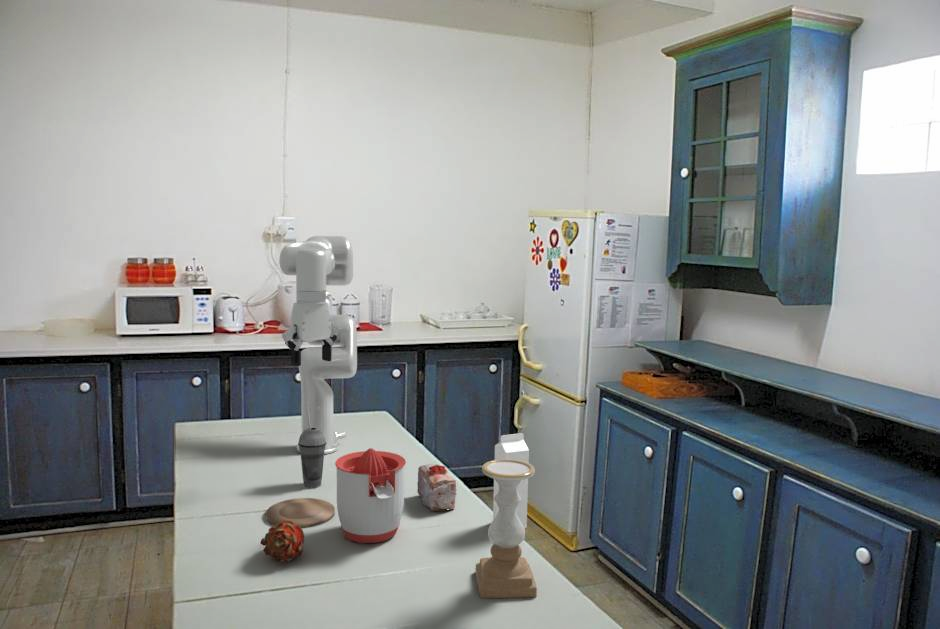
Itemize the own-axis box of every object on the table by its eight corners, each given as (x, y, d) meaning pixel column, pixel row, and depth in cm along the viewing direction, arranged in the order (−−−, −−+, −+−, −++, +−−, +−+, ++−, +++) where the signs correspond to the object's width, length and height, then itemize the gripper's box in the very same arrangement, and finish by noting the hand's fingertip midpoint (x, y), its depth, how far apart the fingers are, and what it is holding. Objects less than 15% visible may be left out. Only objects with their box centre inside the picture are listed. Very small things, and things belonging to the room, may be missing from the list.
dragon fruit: (284, 579, 150) (277, 562, 162) (317, 550, 153) (309, 535, 164) (257, 548, 149) (252, 533, 160) (291, 519, 151) (285, 506, 162)
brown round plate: (307, 497, 190) (307, 492, 190) (348, 514, 180) (348, 510, 180) (252, 514, 178) (252, 510, 178) (292, 534, 168) (292, 529, 168)
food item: (460, 511, 183) (460, 472, 182) (429, 515, 180) (429, 476, 179) (441, 492, 196) (441, 456, 195) (412, 496, 193) (412, 459, 192)
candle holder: (474, 571, 152) (477, 458, 149) (528, 570, 153) (531, 457, 150) (480, 598, 141) (483, 477, 138) (537, 597, 142) (541, 476, 139)
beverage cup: (319, 491, 194) (319, 416, 192) (293, 488, 196) (293, 414, 193) (330, 481, 202) (330, 409, 199) (305, 479, 203) (304, 407, 200)
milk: (526, 528, 174) (530, 436, 171) (503, 532, 172) (506, 439, 169) (514, 518, 180) (518, 429, 177) (492, 522, 177) (495, 431, 174)
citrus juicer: (350, 557, 157) (350, 465, 155) (326, 526, 172) (326, 442, 170) (419, 544, 164) (420, 456, 162) (390, 515, 180) (390, 434, 177)
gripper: (329, 294, 201) (329, 357, 203) (274, 298, 188) (274, 365, 190) (347, 296, 196) (347, 360, 198) (291, 300, 183) (292, 369, 185)
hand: (311, 362), depth 194 cm, fingers open, 9 cm apart
